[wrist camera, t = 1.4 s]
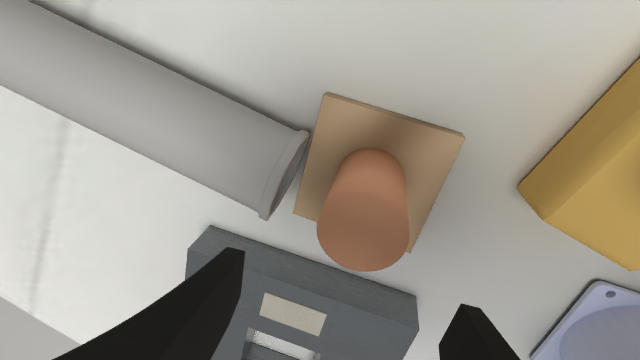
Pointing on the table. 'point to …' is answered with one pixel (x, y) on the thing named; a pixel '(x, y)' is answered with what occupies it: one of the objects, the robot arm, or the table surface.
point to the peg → (366, 212)
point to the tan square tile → (383, 133)
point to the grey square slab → (307, 306)
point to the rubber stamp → (596, 177)
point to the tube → (147, 107)
